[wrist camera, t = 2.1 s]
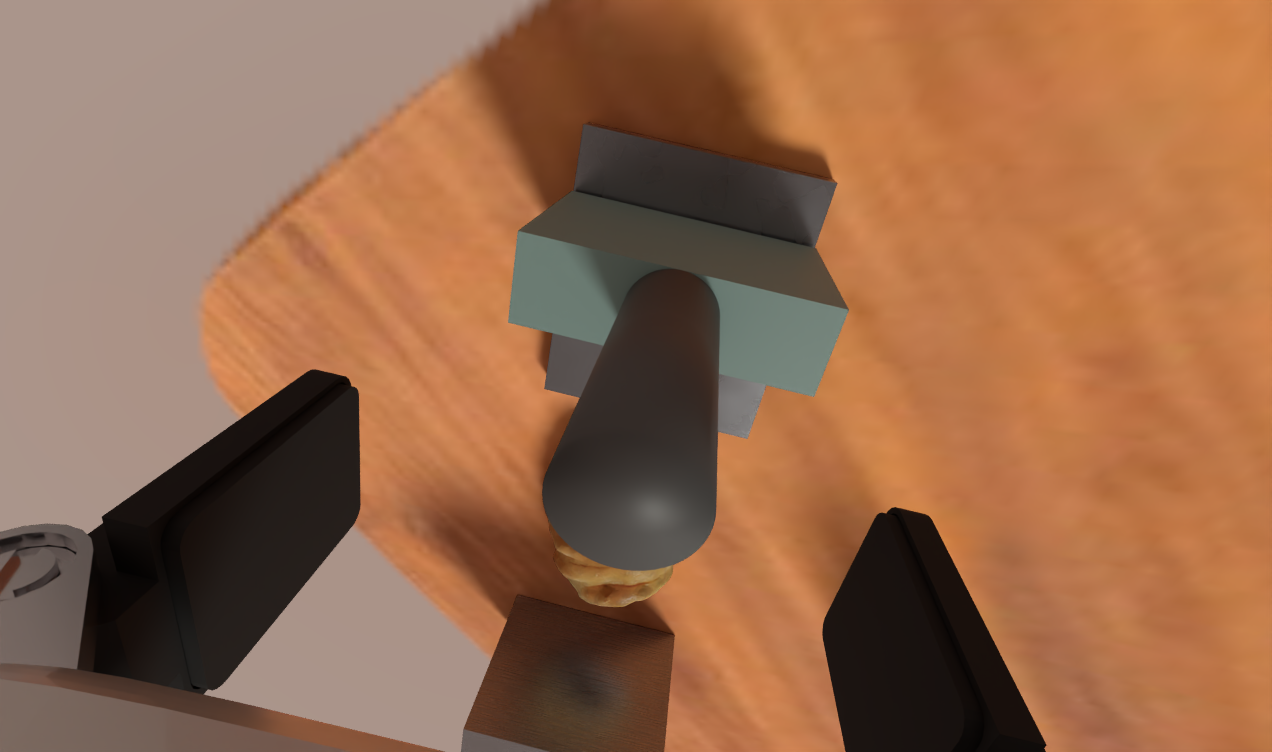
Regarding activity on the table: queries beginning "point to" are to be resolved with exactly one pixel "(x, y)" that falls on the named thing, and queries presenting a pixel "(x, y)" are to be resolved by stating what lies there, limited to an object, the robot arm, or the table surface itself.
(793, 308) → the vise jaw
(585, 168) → the dark grey flat plate
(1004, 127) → the table surface
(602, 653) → the block
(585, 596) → the pastry
